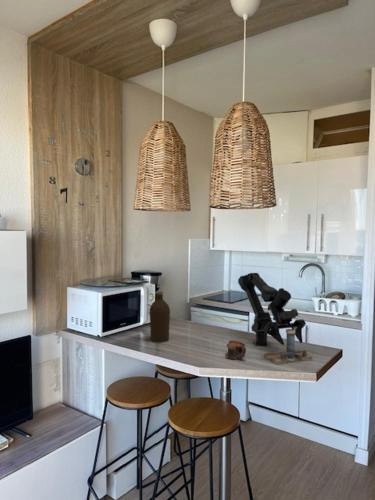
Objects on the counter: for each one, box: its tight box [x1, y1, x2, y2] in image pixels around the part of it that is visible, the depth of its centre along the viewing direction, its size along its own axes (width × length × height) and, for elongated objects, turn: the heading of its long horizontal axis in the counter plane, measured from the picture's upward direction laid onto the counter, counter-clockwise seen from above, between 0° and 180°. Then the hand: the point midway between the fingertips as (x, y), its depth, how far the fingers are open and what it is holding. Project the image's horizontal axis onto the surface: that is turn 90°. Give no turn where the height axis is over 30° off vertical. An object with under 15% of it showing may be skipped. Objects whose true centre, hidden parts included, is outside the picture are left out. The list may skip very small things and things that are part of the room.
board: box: [263, 349, 313, 365], centre depth 162 cm, size 10×18×4 cm, turn 109°
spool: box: [285, 328, 296, 362], centre depth 160 cm, size 4×4×13 cm
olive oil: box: [148, 291, 171, 343], centre depth 191 cm, size 11×11×25 cm
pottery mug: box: [224, 340, 247, 361], centre depth 164 cm, size 12×10×8 cm
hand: (292, 343), depth 158 cm, fingers open, 9 cm apart
